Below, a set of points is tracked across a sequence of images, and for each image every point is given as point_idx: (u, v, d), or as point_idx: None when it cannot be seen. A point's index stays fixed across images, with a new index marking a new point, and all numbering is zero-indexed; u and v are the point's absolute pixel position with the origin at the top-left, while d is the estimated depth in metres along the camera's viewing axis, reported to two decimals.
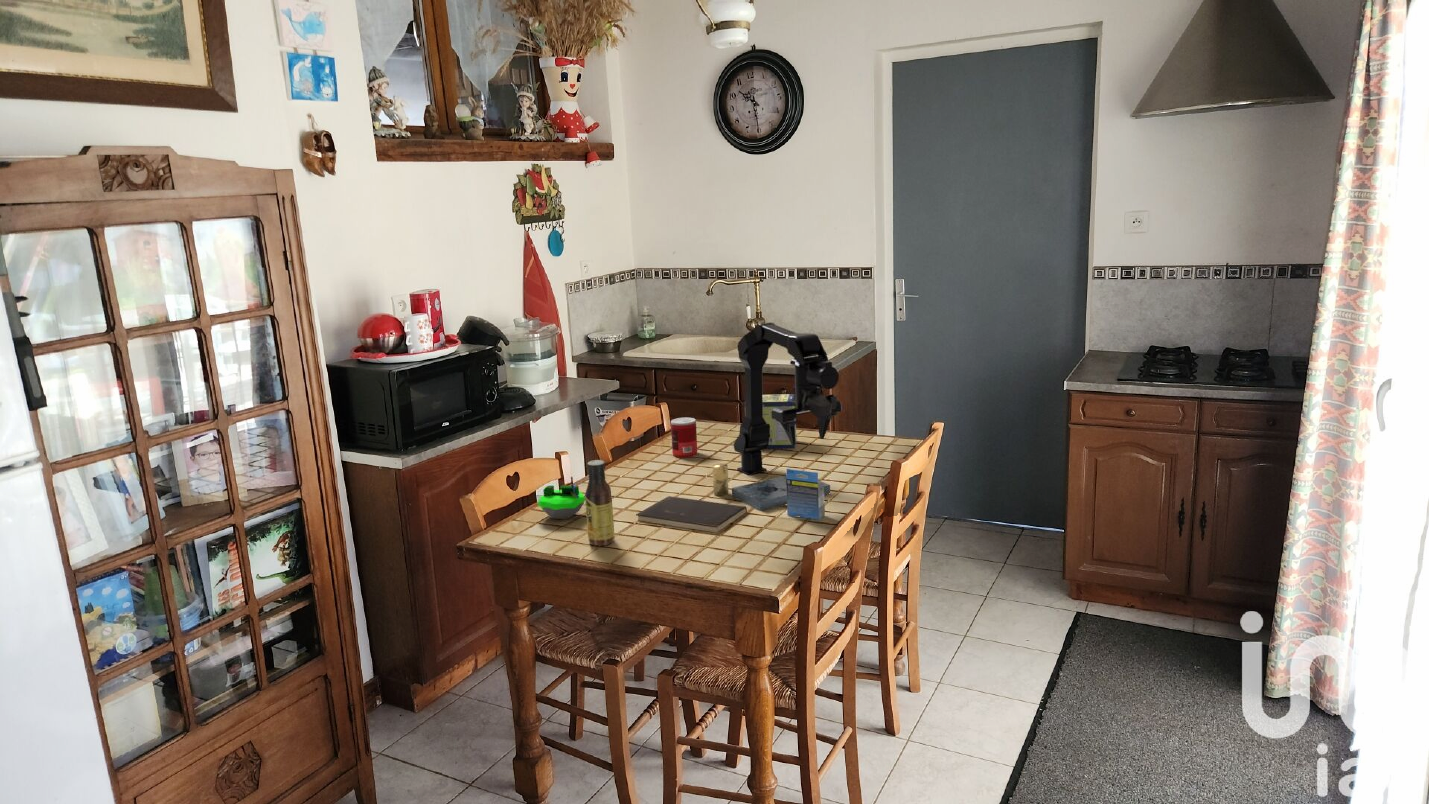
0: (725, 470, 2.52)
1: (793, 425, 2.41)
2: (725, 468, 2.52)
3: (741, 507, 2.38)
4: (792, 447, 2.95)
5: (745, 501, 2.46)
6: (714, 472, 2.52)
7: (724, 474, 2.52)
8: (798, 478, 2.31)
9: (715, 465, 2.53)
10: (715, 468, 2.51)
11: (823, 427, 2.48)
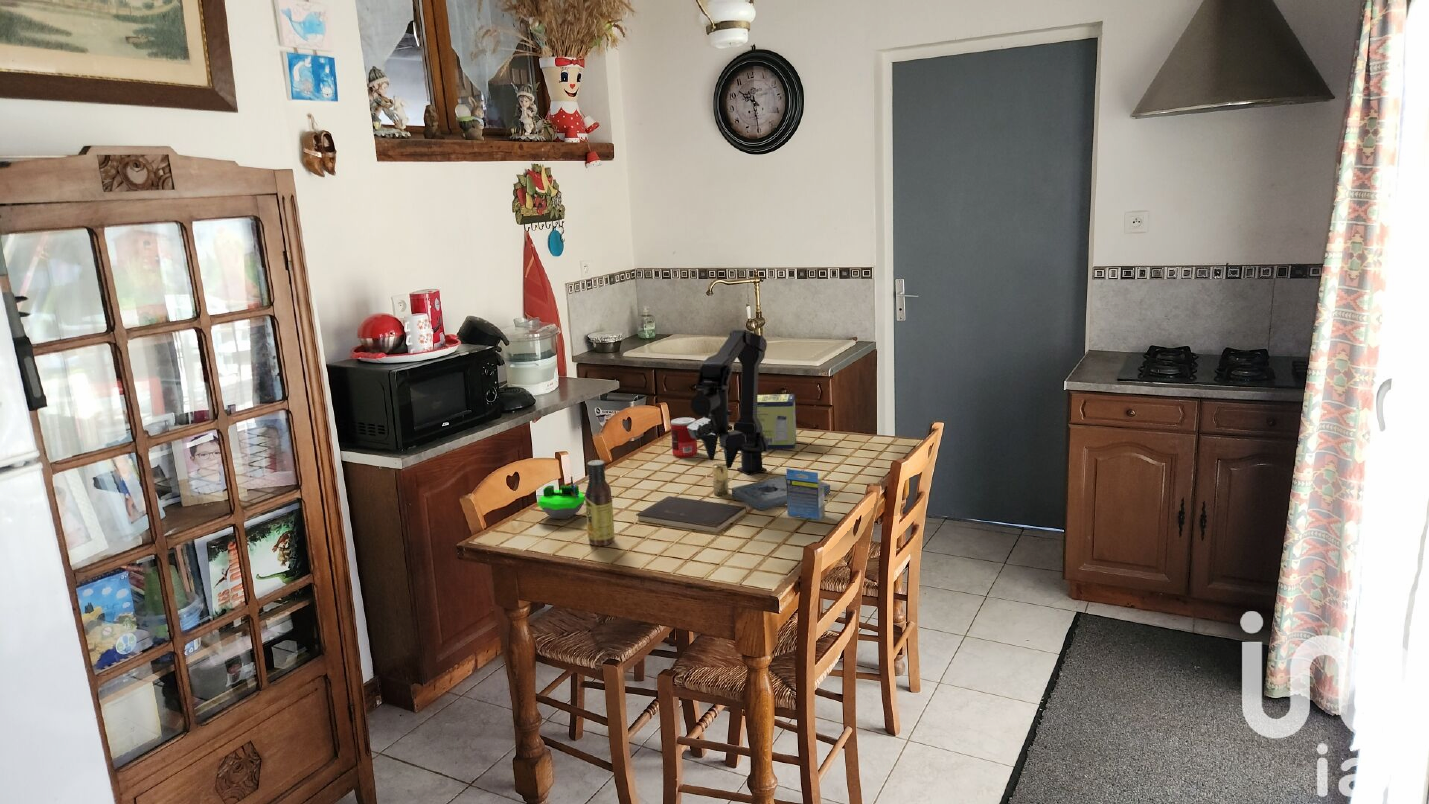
0: (725, 470, 2.52)
1: (702, 440, 2.55)
2: (725, 468, 2.52)
3: (741, 507, 2.38)
4: (792, 447, 2.95)
5: (745, 501, 2.46)
6: (714, 472, 2.52)
7: (724, 474, 2.52)
8: (798, 478, 2.31)
9: (715, 465, 2.53)
10: (715, 468, 2.51)
11: None
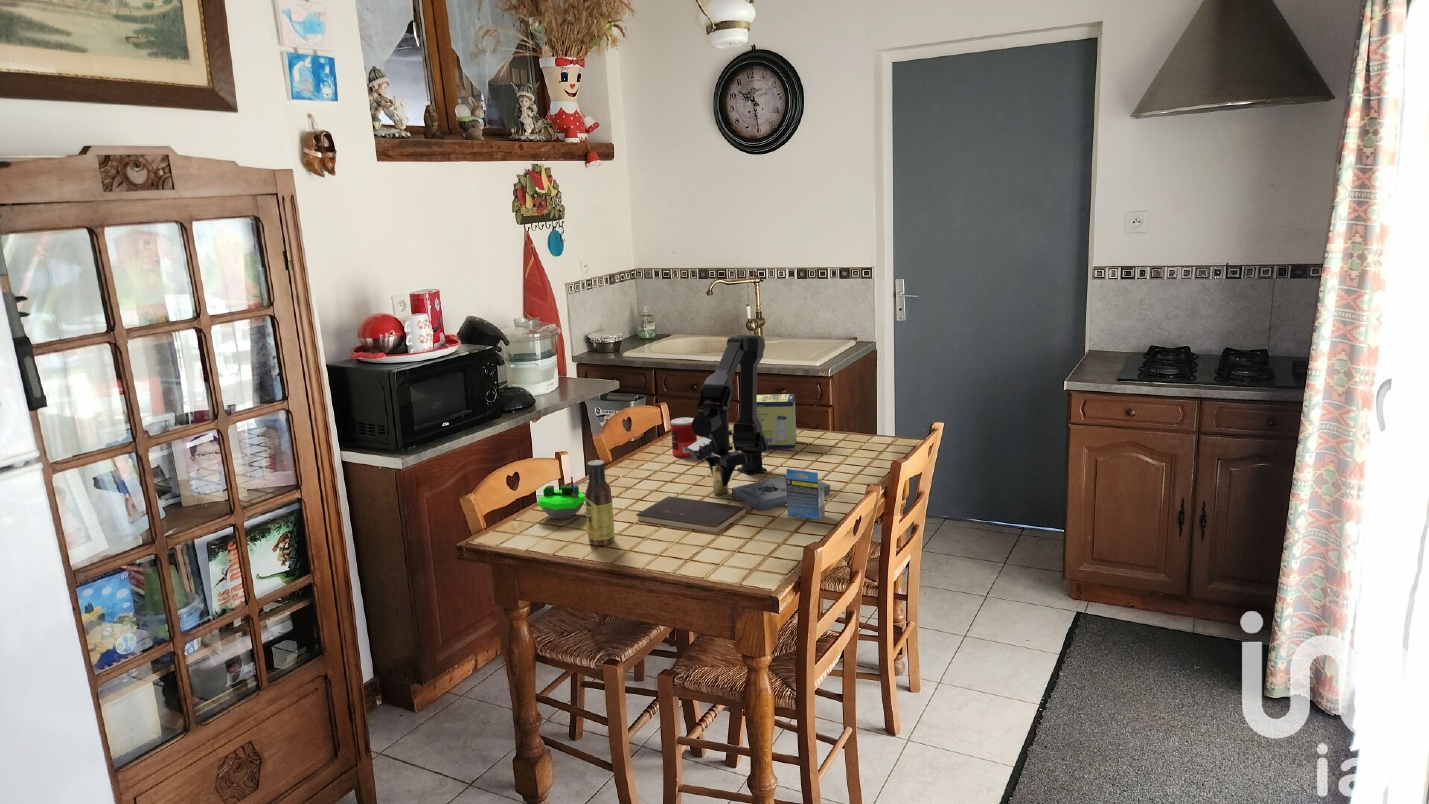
0: None
1: (707, 462, 2.54)
2: None
3: (741, 507, 2.38)
4: (792, 447, 2.95)
5: (745, 501, 2.46)
6: (714, 472, 2.52)
7: None
8: (798, 478, 2.31)
9: (715, 465, 2.53)
10: (715, 467, 2.51)
11: None
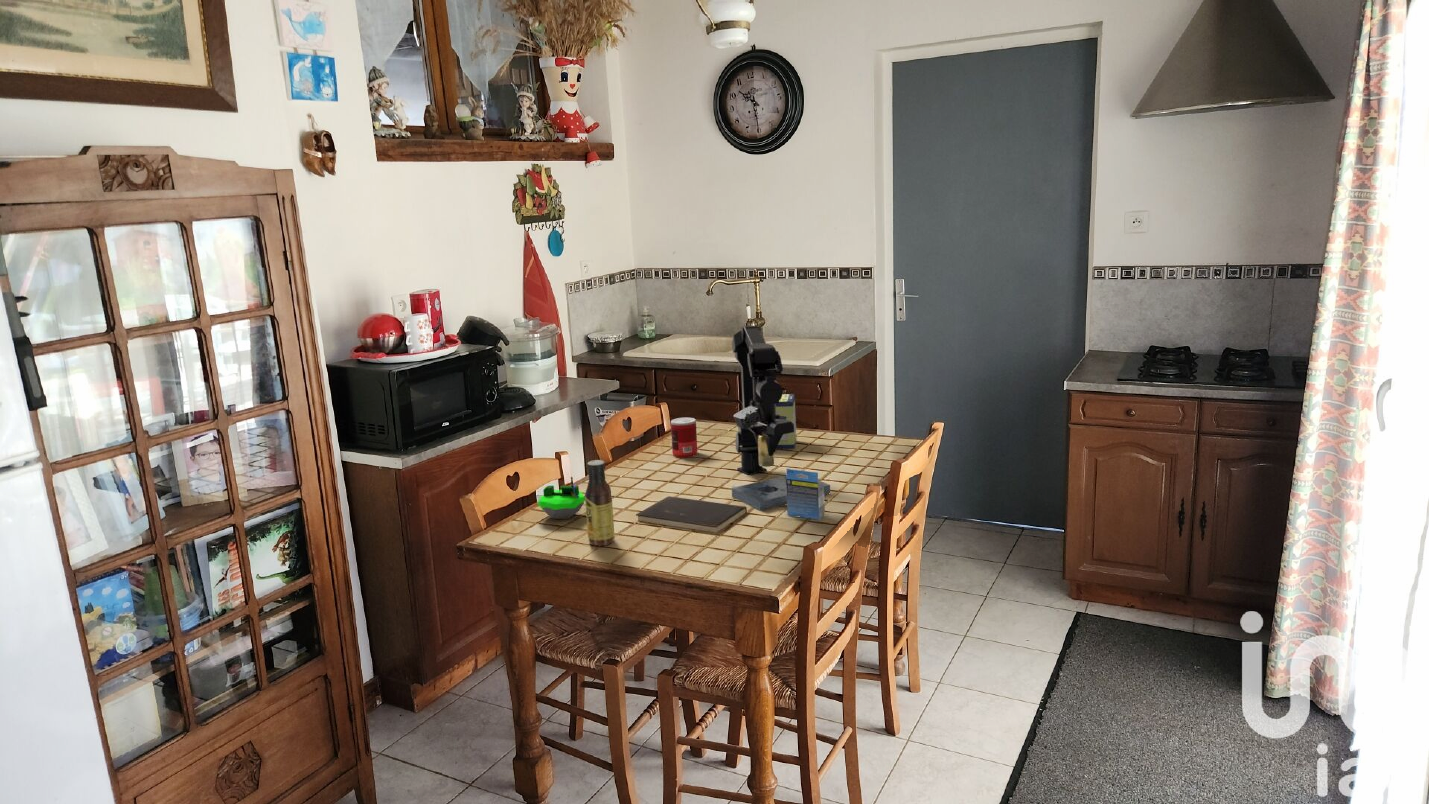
0: None
1: (753, 431, 2.47)
2: None
3: (741, 507, 2.38)
4: (792, 447, 2.95)
5: (745, 501, 2.46)
6: (760, 441, 2.44)
7: None
8: (798, 478, 2.31)
9: (761, 434, 2.46)
10: (761, 437, 2.44)
11: None
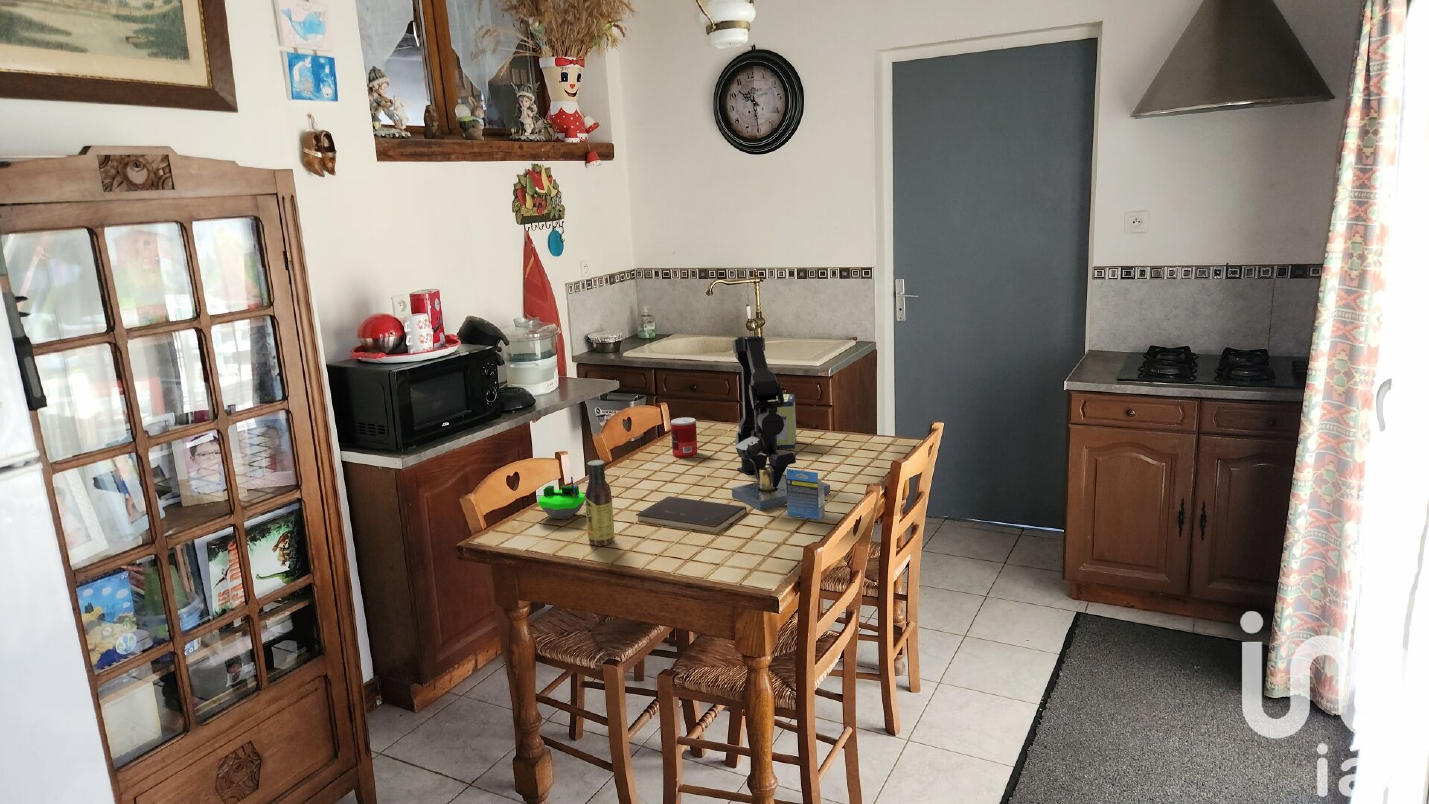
0: None
1: (752, 460, 2.50)
2: None
3: (741, 507, 2.38)
4: (792, 447, 2.95)
5: (745, 501, 2.46)
6: (761, 476, 2.46)
7: (771, 478, 2.46)
8: (798, 478, 2.31)
9: (762, 469, 2.48)
10: (763, 471, 2.46)
11: None
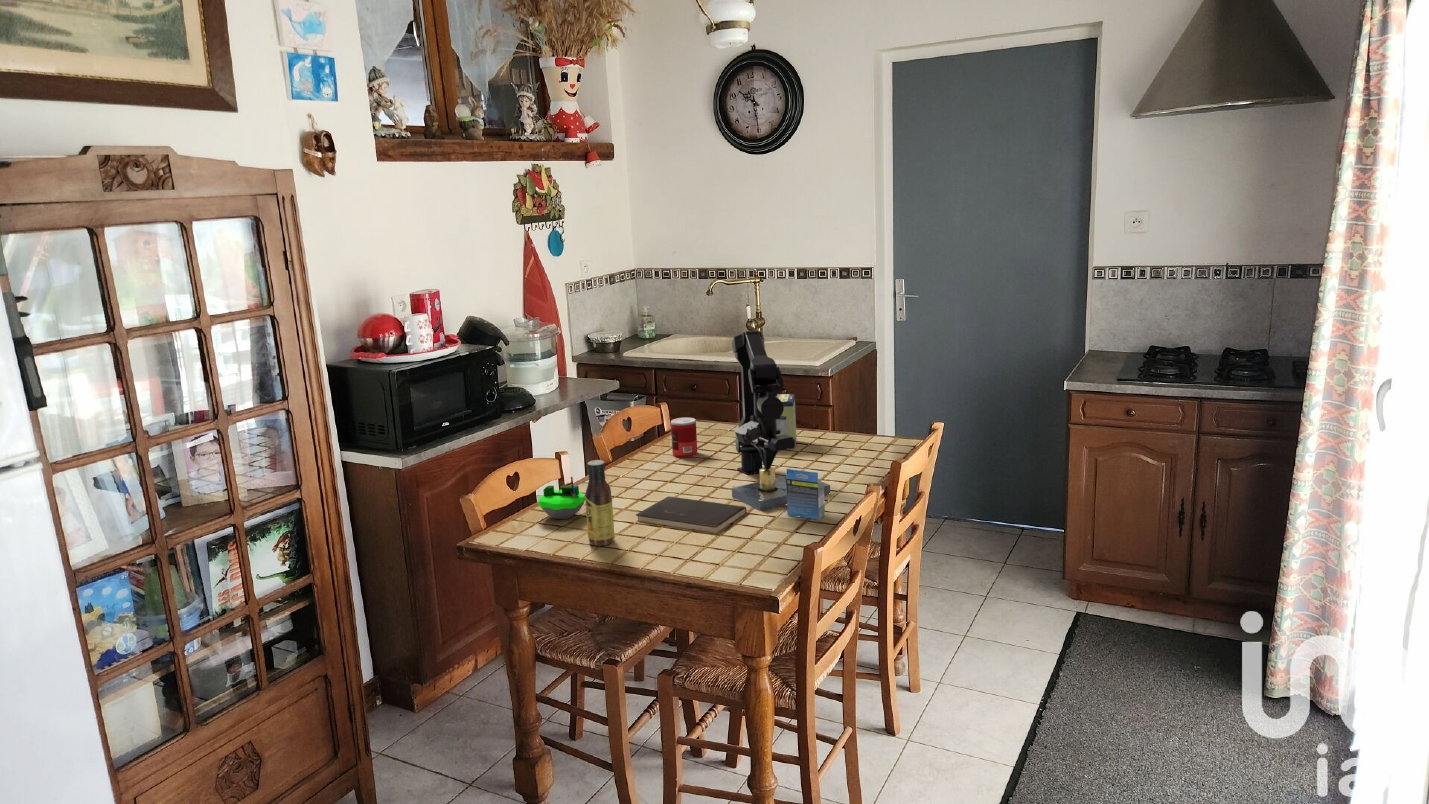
0: (772, 474, 2.46)
1: (758, 448, 2.46)
2: (772, 472, 2.46)
3: (741, 507, 2.38)
4: None
5: (745, 501, 2.46)
6: (761, 476, 2.46)
7: (771, 478, 2.46)
8: (798, 478, 2.31)
9: (762, 469, 2.48)
10: (763, 471, 2.46)
11: None
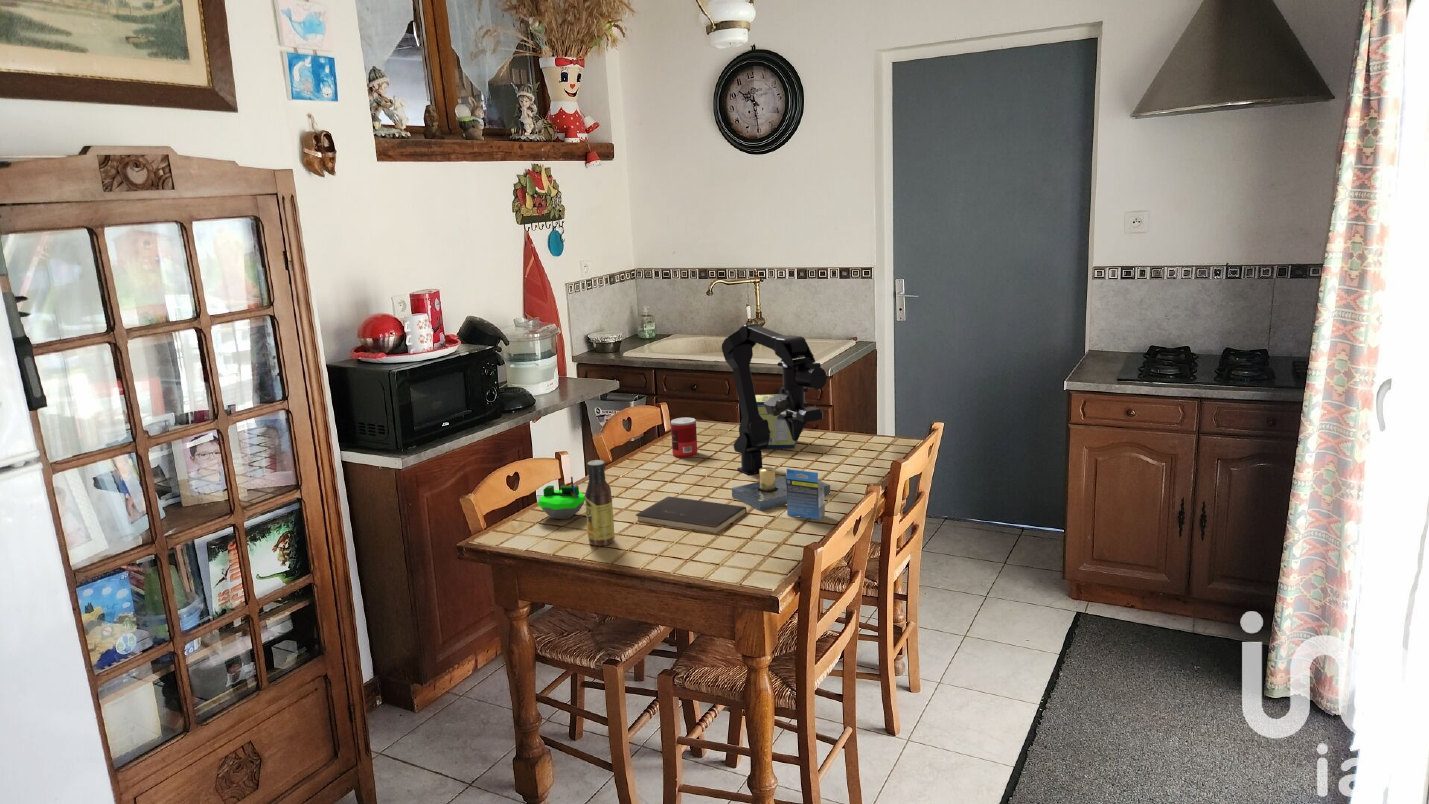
0: (772, 474, 2.46)
1: (786, 420, 2.54)
2: (772, 472, 2.46)
3: (741, 507, 2.38)
4: (792, 447, 2.95)
5: (745, 501, 2.46)
6: (761, 476, 2.46)
7: (771, 478, 2.46)
8: (798, 478, 2.31)
9: (762, 469, 2.48)
10: (763, 471, 2.46)
11: None
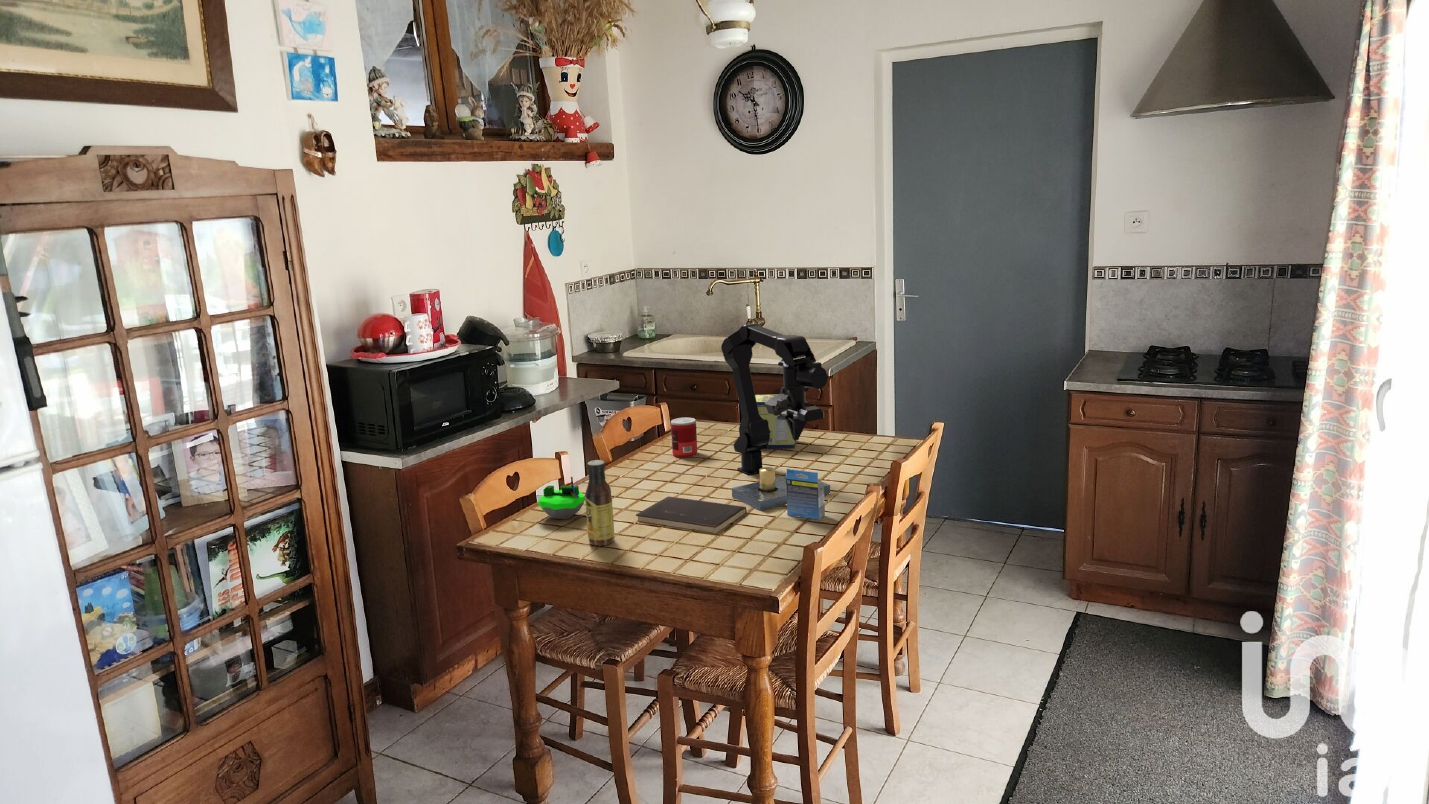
0: (772, 474, 2.46)
1: (787, 420, 2.54)
2: (772, 472, 2.46)
3: (741, 507, 2.38)
4: (792, 447, 2.95)
5: (745, 501, 2.46)
6: (761, 476, 2.46)
7: (771, 478, 2.46)
8: (798, 478, 2.31)
9: (762, 469, 2.48)
10: (763, 471, 2.46)
11: None
